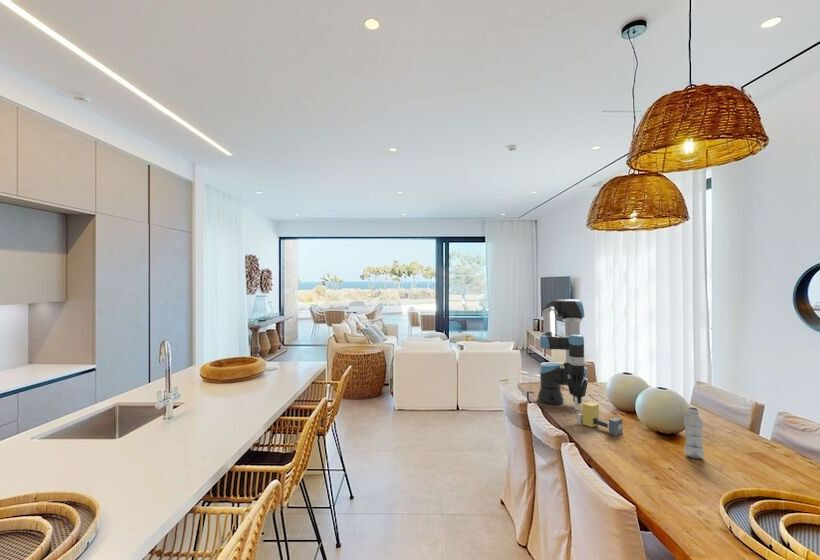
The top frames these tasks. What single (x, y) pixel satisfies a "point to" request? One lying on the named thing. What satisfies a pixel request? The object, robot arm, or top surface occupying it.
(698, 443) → the plastic bottle
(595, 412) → the yellow rectangular block
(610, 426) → the grey slider rail
